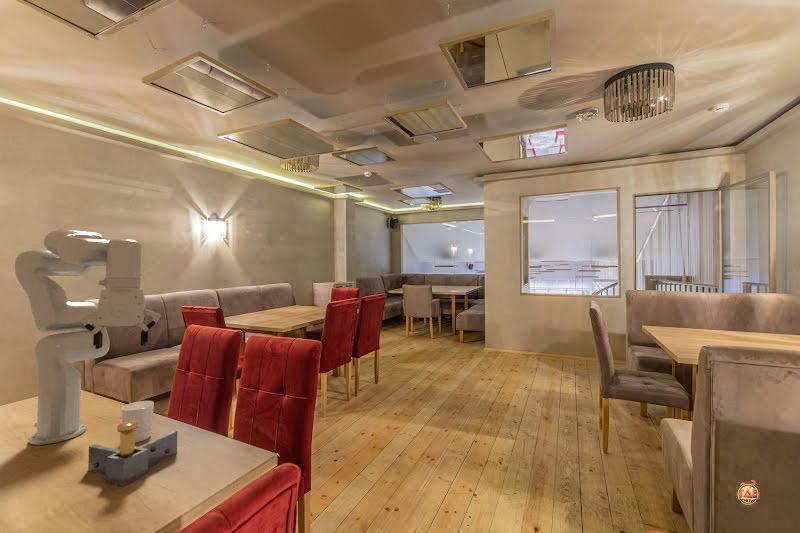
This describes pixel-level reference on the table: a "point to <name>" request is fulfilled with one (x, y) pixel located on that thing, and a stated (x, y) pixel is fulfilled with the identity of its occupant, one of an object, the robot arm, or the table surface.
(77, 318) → the robot arm
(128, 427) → the hinge pin
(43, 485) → the table surface
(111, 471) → the hinge body
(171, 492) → the table surface
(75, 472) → the table surface
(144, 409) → the white cup
